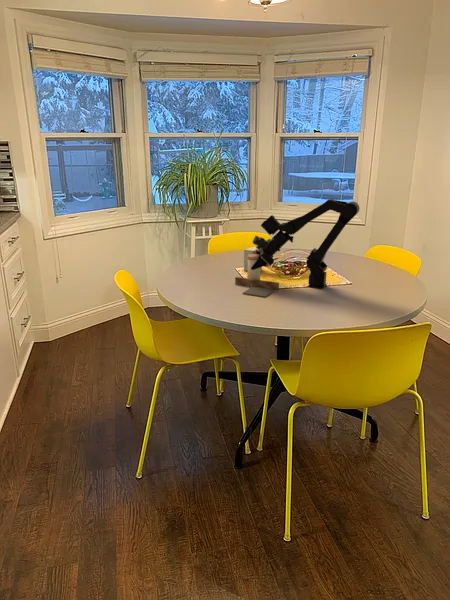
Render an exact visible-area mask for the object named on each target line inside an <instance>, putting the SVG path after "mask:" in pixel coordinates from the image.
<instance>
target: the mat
mask: <svg viewBox="0 0 450 600" xmlns="http://www.w3.org/2000/svg"><path fill="white" fill-rule="evenodd" d="M273 292H275V290H273V289H266V288H260V287H252V286H250V287H249V288H248V289H246V290H244V291H243V292H242V295H247V296H253V297H260V298H267V297H268V296H269V295H271V294H273Z"/></svg>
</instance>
